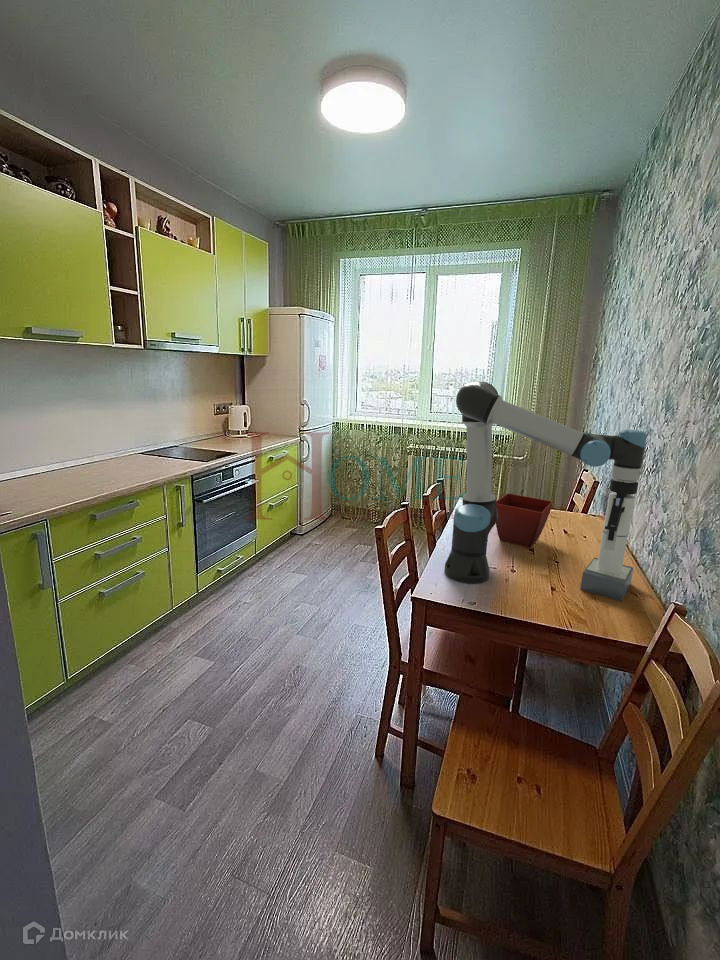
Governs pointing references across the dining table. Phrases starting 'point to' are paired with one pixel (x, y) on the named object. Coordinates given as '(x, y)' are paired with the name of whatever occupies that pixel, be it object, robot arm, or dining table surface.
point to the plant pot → (521, 519)
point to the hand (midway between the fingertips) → (613, 543)
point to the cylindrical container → (614, 559)
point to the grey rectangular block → (606, 581)
